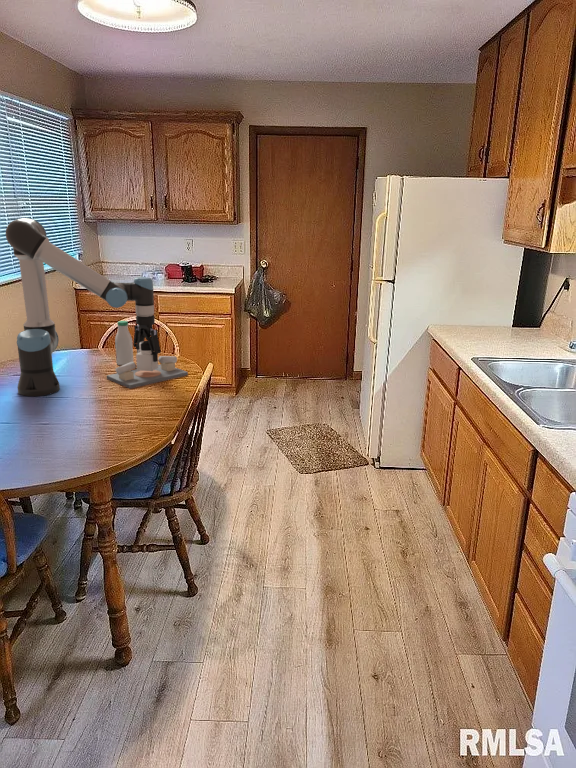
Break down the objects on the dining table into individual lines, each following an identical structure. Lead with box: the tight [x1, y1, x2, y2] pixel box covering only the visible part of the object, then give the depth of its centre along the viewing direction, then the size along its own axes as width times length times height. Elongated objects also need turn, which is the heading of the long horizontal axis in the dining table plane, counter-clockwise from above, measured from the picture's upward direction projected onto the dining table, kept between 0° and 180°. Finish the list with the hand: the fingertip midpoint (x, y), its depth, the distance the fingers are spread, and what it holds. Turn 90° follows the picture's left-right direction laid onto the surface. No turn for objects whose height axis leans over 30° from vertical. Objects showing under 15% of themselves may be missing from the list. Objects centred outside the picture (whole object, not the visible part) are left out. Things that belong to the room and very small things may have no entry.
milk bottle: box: [114, 320, 134, 366], centre depth 257 cm, size 8×8×20 cm
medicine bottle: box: [135, 340, 159, 371], centre depth 238 cm, size 7×7×12 cm
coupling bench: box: [106, 355, 189, 390], centre depth 239 cm, size 29×18×8 cm, turn 137°
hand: (147, 366), depth 239 cm, fingers closed on medicine bottle, 10 cm apart
